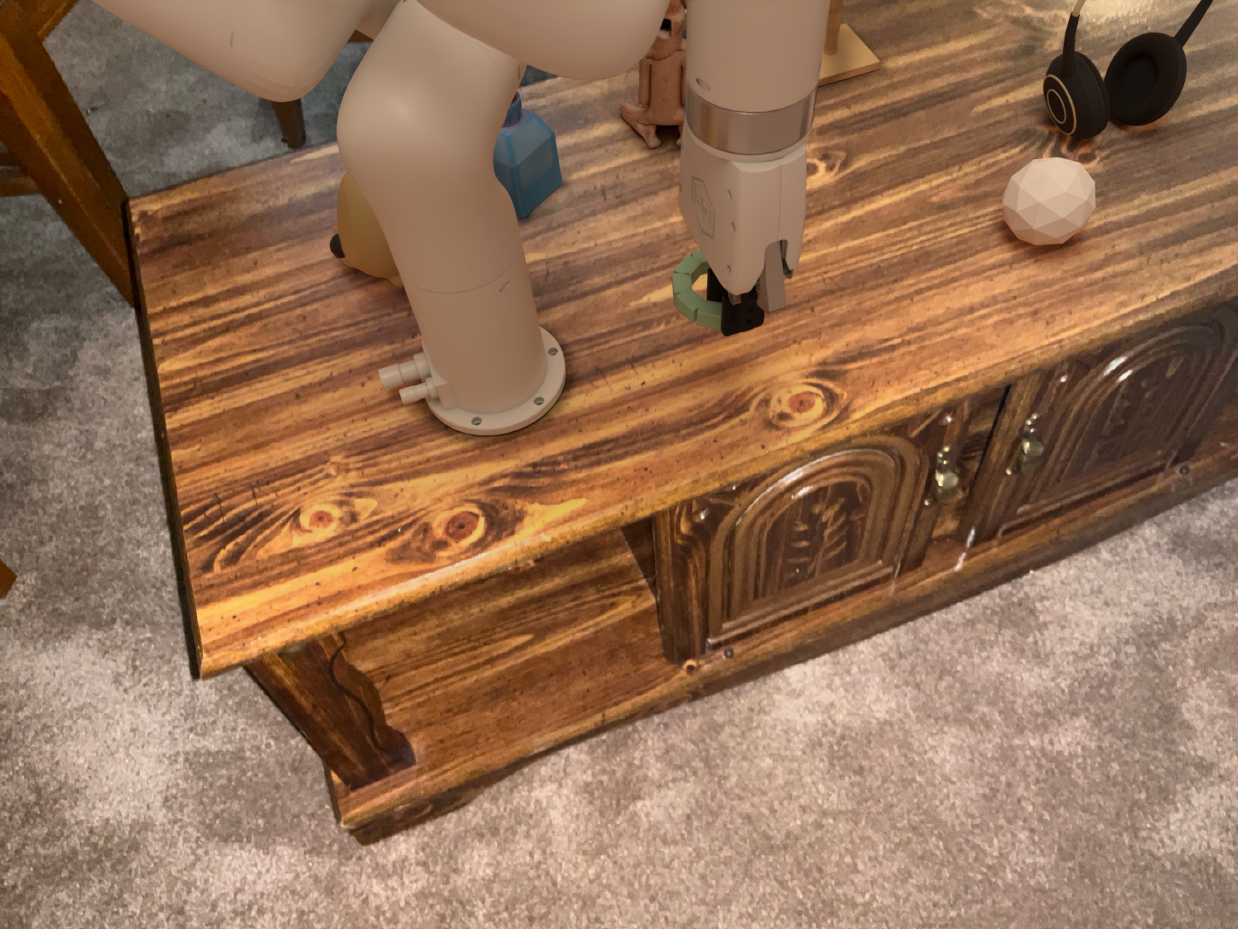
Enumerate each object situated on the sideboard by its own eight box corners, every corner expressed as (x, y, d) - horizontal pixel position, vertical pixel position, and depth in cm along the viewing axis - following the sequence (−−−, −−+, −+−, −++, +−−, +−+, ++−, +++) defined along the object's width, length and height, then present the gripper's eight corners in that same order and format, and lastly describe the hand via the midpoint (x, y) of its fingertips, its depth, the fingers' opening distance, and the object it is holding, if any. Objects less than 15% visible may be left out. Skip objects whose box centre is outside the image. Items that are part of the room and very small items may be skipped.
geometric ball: (1004, 254, 92) (970, 187, 88) (1074, 201, 91) (1042, 131, 88) (1053, 273, 85) (1019, 201, 82) (1128, 216, 85) (1097, 140, 81)
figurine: (721, 109, 103) (725, -82, 86) (704, 159, 99) (705, -32, 82) (627, 98, 105) (613, -90, 89) (606, 147, 101) (587, -42, 84)
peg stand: (812, 88, 104) (823, -10, 95) (780, 49, 108) (788, -49, 99) (879, 69, 105) (896, -30, 96) (845, 30, 109) (858, -67, 100)
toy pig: (434, 257, 99) (359, 175, 96) (480, 215, 88) (398, 122, 86) (369, 317, 94) (288, 233, 91) (409, 280, 84) (320, 184, 81)
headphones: (1007, 115, 99) (1069, -84, 83) (1138, 84, 100) (1224, -118, 84) (1050, 167, 94) (1125, -33, 78) (1186, 133, 96) (1288, -71, 79)
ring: (786, 311, 71) (787, 298, 70) (693, 340, 70) (693, 327, 69) (746, 248, 75) (747, 234, 74) (657, 274, 74) (657, 261, 73)
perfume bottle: (523, 218, 96) (502, 115, 86) (477, 196, 98) (452, 93, 88) (562, 183, 98) (546, 79, 88) (516, 162, 101) (496, 58, 91)
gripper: (642, 42, 59) (649, 259, 75) (746, 203, 51) (730, 411, 66) (753, 13, 60) (738, 233, 76) (874, 166, 52) (829, 379, 67)
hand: (734, 314), depth 71 cm, fingers closed on ring
